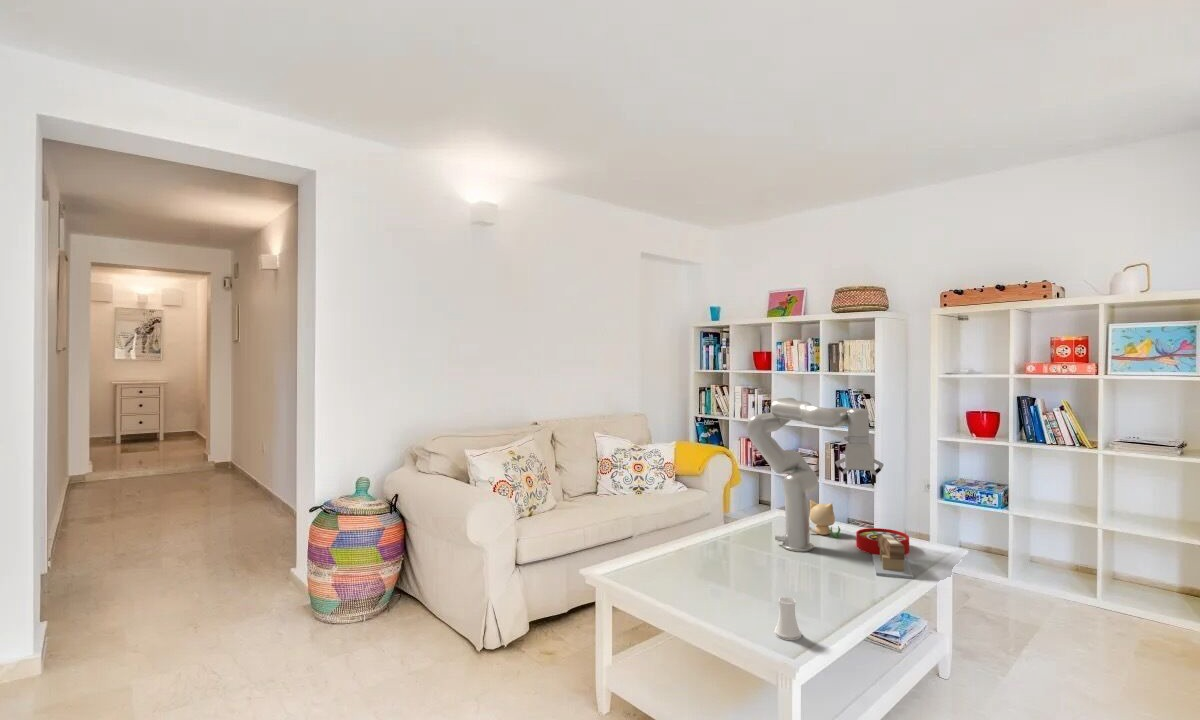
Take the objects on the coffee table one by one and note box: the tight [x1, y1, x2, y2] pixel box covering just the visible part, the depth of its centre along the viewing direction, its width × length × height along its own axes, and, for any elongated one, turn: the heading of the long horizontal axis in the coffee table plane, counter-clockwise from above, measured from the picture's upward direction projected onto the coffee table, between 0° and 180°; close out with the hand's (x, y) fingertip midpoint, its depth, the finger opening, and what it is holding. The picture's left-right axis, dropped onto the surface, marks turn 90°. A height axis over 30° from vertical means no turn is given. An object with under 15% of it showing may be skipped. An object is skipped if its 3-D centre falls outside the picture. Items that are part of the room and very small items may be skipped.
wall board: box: [871, 549, 914, 580], centre depth 231 cm, size 12×22×6 cm, turn 159°
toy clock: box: [855, 527, 910, 555], centre depth 254 cm, size 20×6×20 cm
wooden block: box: [878, 533, 906, 560], centre depth 231 cm, size 16×5×5 cm, turn 170°
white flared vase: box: [773, 596, 802, 641], centre depth 178 cm, size 8×8×10 cm
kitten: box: [809, 499, 841, 538], centre depth 275 cm, size 15×10×15 cm
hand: (859, 484), depth 238 cm, fingers open, 9 cm apart
